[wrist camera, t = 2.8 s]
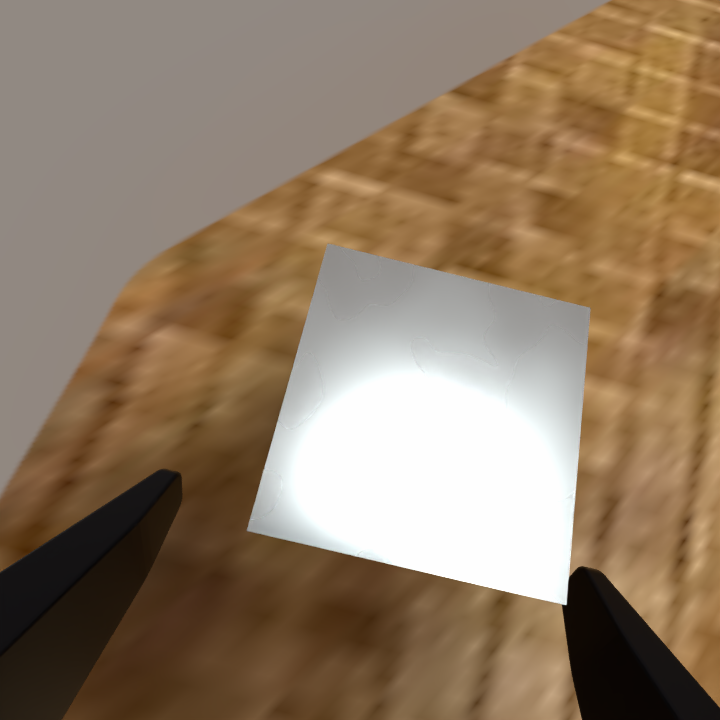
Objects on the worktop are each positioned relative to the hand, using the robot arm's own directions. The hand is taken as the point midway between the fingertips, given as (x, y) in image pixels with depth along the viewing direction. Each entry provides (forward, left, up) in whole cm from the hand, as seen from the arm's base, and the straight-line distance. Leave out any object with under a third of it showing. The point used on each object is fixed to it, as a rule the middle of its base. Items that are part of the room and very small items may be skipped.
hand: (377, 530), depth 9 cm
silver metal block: (+2, +1, -10) cm, 10 cm away
